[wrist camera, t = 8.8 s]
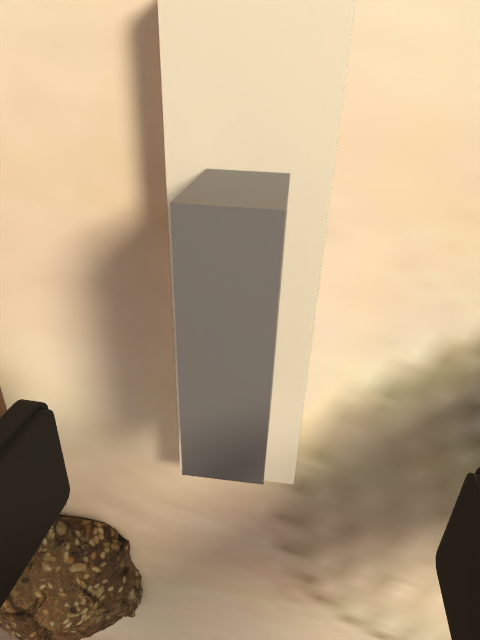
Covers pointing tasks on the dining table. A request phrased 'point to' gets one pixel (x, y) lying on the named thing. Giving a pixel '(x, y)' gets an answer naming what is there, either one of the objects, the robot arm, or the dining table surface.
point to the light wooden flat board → (2, 405)
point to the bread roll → (73, 584)
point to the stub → (248, 218)
